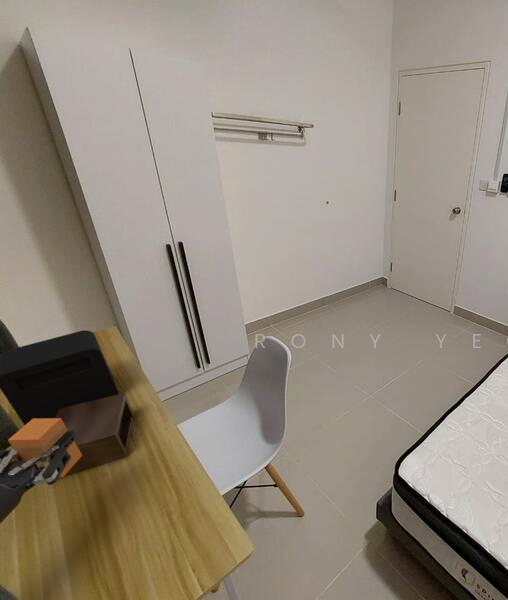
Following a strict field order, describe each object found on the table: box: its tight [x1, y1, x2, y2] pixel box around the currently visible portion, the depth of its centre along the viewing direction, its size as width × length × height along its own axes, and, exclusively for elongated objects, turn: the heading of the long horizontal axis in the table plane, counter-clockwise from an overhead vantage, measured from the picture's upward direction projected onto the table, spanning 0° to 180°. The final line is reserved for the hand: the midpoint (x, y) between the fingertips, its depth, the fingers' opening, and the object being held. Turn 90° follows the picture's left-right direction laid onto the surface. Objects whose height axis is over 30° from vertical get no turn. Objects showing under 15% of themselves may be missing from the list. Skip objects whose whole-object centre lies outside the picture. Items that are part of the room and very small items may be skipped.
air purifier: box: [0, 329, 120, 426], centre depth 96 cm, size 20×15×20 cm
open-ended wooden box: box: [55, 392, 135, 480], centre depth 86 cm, size 14×16×9 cm
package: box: [7, 418, 82, 479], centre depth 64 cm, size 5×5×11 cm
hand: (57, 433), depth 66 cm, fingers closed on package, 5 cm apart
